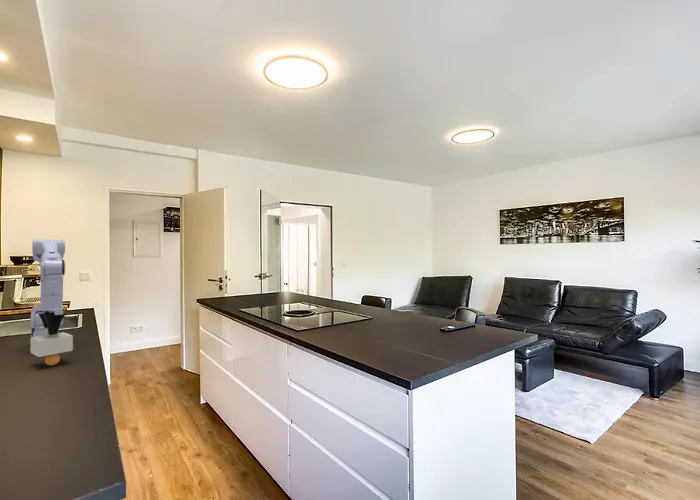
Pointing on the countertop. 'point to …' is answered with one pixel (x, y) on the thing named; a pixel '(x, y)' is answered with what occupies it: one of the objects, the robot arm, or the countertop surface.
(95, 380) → the countertop surface
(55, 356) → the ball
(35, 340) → the grey knobbed block
